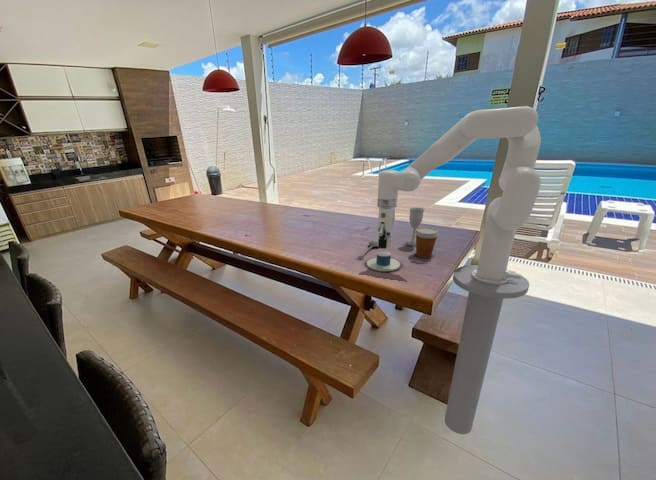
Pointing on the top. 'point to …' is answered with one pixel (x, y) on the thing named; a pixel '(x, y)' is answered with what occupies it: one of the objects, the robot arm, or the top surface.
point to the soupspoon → (372, 244)
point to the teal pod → (383, 258)
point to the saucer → (393, 266)
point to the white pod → (387, 241)
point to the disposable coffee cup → (425, 241)
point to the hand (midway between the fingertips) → (384, 245)
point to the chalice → (415, 221)
